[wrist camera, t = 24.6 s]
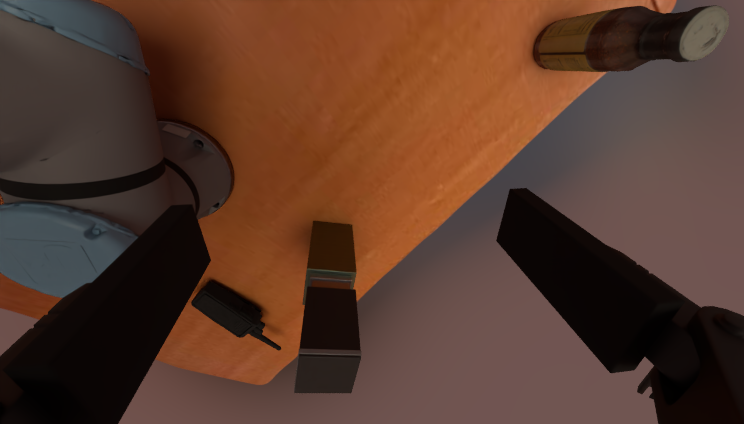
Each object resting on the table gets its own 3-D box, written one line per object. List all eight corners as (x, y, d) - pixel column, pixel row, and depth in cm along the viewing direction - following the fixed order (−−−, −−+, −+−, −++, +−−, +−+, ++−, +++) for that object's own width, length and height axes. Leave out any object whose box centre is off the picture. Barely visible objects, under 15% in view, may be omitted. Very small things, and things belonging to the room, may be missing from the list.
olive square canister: (309, 252, 55) (300, 321, 41) (313, 220, 51) (304, 284, 38) (346, 255, 56) (349, 323, 42) (352, 225, 53) (357, 287, 39)
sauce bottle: (573, 60, 43) (731, 68, 26) (531, 75, 43) (660, 93, 26) (574, 9, 40) (757, -21, 22) (529, 26, 40) (675, 9, 23)
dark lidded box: (302, 320, 41) (293, 393, 32) (306, 285, 38) (298, 356, 29) (348, 322, 42) (351, 393, 33) (356, 289, 39) (361, 357, 30)
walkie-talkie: (213, 278, 53) (298, 334, 59) (211, 277, 58) (289, 328, 65) (187, 309, 50) (279, 363, 57) (187, 304, 55) (271, 355, 62)
